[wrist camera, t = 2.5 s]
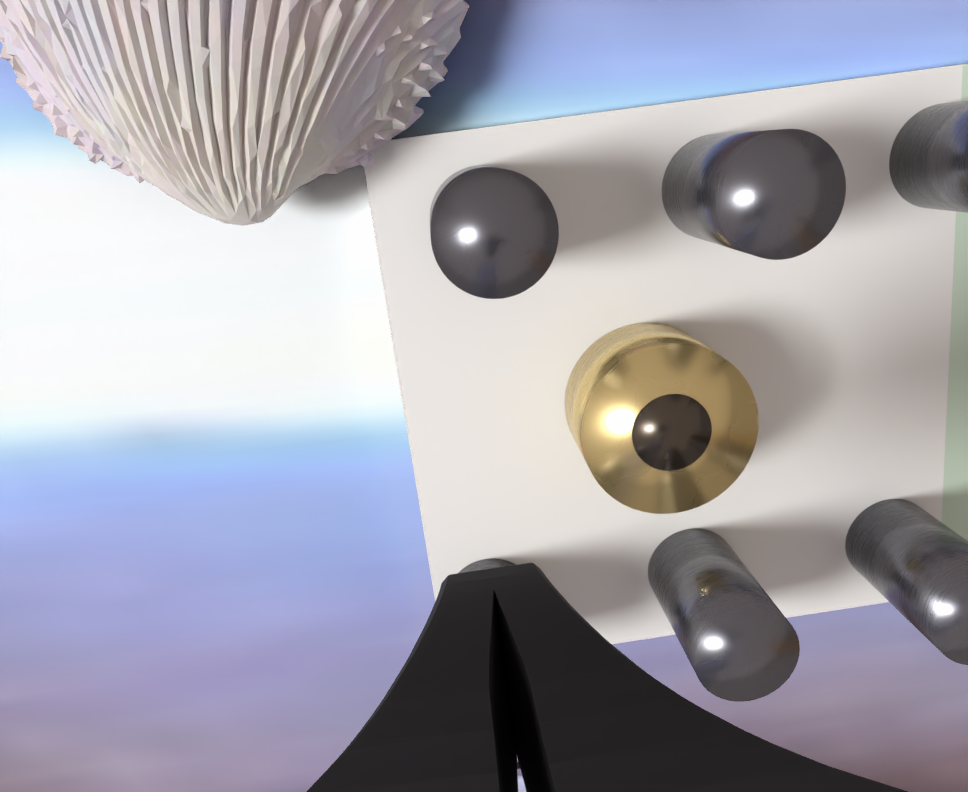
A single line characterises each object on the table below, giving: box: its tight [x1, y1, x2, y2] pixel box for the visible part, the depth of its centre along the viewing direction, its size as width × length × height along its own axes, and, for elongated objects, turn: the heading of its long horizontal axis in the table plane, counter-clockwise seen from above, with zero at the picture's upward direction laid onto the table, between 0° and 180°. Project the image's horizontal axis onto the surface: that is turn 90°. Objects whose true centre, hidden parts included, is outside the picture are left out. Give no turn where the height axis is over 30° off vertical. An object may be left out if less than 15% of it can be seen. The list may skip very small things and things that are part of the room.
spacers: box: [430, 101, 968, 701], centre depth 18 cm, size 12×14×4 cm
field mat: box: [364, 64, 968, 644], centre depth 21 cm, size 14×20×1 cm
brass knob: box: [564, 322, 759, 514], centre depth 19 cm, size 4×4×3 cm
